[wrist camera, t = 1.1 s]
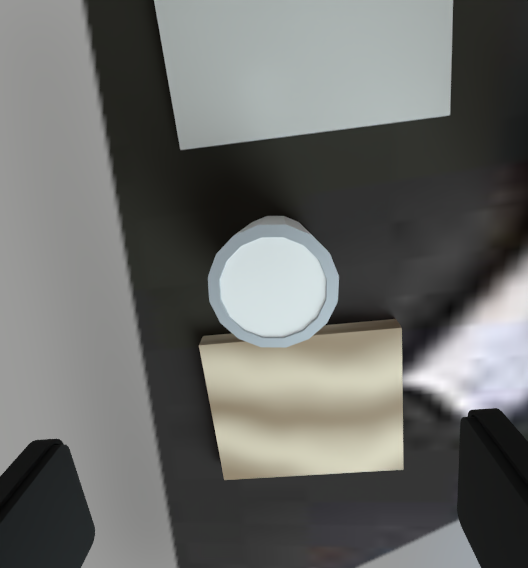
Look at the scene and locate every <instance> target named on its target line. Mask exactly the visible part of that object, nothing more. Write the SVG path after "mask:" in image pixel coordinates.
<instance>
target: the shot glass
mask: <svg viewBox="0 0 528 568" xmlns="http://www.w3.org/2000/svg"><path fill="white" fill-rule="evenodd" d="M338 286H339V276H338V273H337V271H336V268H335V266H334V263H333V260H332V258H331V255H330V253H329V252H328V251H327V250H326V249H325V248H324V247H323V246H322V245H321V244H320V243H319V242H318V241H317V240H316V239H315V238H314V237H313V236H312V235H311V234H310V233H309V232H308V231H307V230H306V229H305V228H304V227H303V226H302V225H301V224H300V223H299V222H298V221H295V220H293V219H290V218H288V217H285V216H265V217H263V218H261V219H259V220H256V221H254V222H252V223H250V224H249V225H247V226H246V227H245V228H243V229H242V230H241V231H239V232H238V233H236V234H235V235H234V236H233V237H232V238H231V239H230V240H229V241H228V242H227V243H226V244H225V245H224V246H223V247H222V248H221V249H220V251H219V252H218V253H217V254H216V256H215V259H214V262H213V264H212V267H211V270H210V273H209V275H208V287H209V301H210V303H211V305H212V307H213V309H214V311H215V313H216V315H217V317H218V319H219V321H220V323H221V324H222V325H223V326H225V327H226V328H227V329H228V330H229V331H230V332H231V333H232V334H234V335H235V336H236V337H237V338H238V339H240V340H243V341H246V342H248V343H251V344H254V345H256V346H259V347H285V348H286V347H289V346H291V345H294V344H297V343H300V342H302V341H305V340H308V339H310V338H311V337H312V336H313V335H314V334H315V333H316V332H318V331H319V330H320V329H321V328H322V327H323V326H324V325H325V324H327V322H328V320H329V318H330V316H331V314H332V312H333V310H334V308H335V306H336V304H337V302H338Z"/></svg>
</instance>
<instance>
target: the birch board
mask: <svg viewBox="0 0 528 568" xmlns="http://www.w3.org/2000/svg"><path fill="white" fill-rule="evenodd" d="M199 349H200V354H201V360H202V365H203V370H204V375H205V381H206V386H207V391H208V396H209V402H210V407H211V412H212V418H213V423H214V428H215V433H216V439H217V444H218V449H219V454H220V460H221V465H222V470H223V475H224V480H233V479H250V478H267V477H284V476H301V475H318V474H335V473H353V472H370V471H387V470H403V397H402V327H401V326H400V324H399V323H398V322H397V320H396V319H389V320H378V321H366V322H355V323H344V324H333V325H324V326H323V327H322V328H321V329H320V330H319V331H318V332H316V333H315V334H314V335H313V336H312V337H311V338H310V339H308V340H305V341H302V342H300V343H297V344H294V345H291V346H289V347H286V348H285V347H259V346H256V345H254V344H251V343H248V342H246V341H243V340H240V339H238V338H237V337H236V336H235V335H234V334H221V335H209V336H203V337H202V339H201V342H200V344H199Z"/></svg>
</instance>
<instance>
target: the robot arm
mask: <svg viewBox="0 0 528 568" xmlns="http://www.w3.org/2000/svg"><path fill="white" fill-rule="evenodd" d="M457 511H458V517H459V521H460V524H461V526H462V529H463V531H464V533H465V535H466V537H467V539H468V541H469V543H470V545H471V547H472V550H473V552H474V554H475V556H476V558H477V560H478V562H479V564H480V566H481V568H528V441H527V440H526V439H525V438H524V437H523V436H522V434H521V433H520V432H519V431H518V430H517V429H516V427H515V426H514V425H513V424H512V423H511V422H510V421H509V419H508V418H507V417H506V416H505V415H504V414H503V412H502V411H500V410H499V409H497V408H493V409H478V410H470V411H469V413H468V417H463V418H462V419H461V424H460V450H459V477H458V503H457ZM94 536H95V527H94V523H93V521H92V517H91V514H90V511H89V508H88V505H87V502H86V499H85V496H84V493H83V490H82V486H81V483H80V480H79V477H78V474H77V471H76V468H75V465H74V462H73V459H72V456H71V453H70V449H69V447H68V446H67V445H64V444H63V443H62V441H61V440H60V439H47V440H35V441H32V442H31V443H30V444H29V445H28V446H27V447H26V448H25V449H24V451H23V452H22V453H21V454H20V455H19V456H18V457H17V459H15V461H14V462H13V463H12V464H11V465H10V466H9V467H8V469H7V470H6V471H5V472H4V473H3V474H2V475H1V476H0V568H81V566H82V564H83V562H84V560H85V558H86V556H87V554H88V552H89V550H90V548H91V546H92V544H93V541H94Z"/></svg>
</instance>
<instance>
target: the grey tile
mask: <svg viewBox="0 0 528 568" xmlns="http://www.w3.org/2000/svg"><path fill="white" fill-rule="evenodd" d="M154 3H155V9H156V14H157V20H158V26H159V31H160V37H161V43H162V49H163V54H164V60H165V66H166V71H167V77H168V83H169V88H170V94H171V100H172V105H173V111H174V117H175V122H176V128H177V134H178V140H179V145H180V150H189V149H197V148H204V147H212V146H220V145H228V144H235V143H243V142H251V141H259V140H266V139H274V138H282V137H290V136H297V135H305V134H313V133H321V132H328V131H336V130H344V129H352V128H359V127H367V126H375V125H383V124H390V123H398V122H406V121H414V120H421V119H429V118H437V117H444V116H448V115H450V97H451V59H452V21H453V0H154Z"/></svg>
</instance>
